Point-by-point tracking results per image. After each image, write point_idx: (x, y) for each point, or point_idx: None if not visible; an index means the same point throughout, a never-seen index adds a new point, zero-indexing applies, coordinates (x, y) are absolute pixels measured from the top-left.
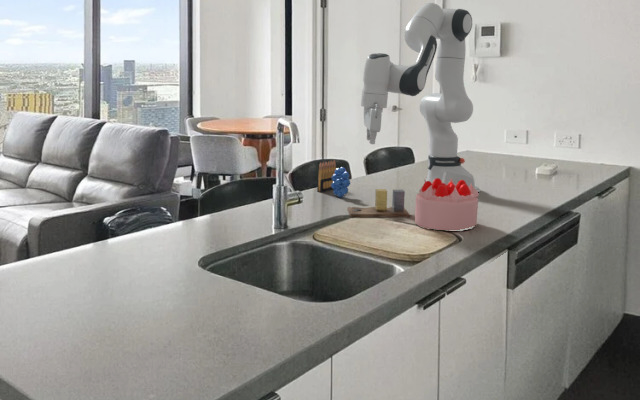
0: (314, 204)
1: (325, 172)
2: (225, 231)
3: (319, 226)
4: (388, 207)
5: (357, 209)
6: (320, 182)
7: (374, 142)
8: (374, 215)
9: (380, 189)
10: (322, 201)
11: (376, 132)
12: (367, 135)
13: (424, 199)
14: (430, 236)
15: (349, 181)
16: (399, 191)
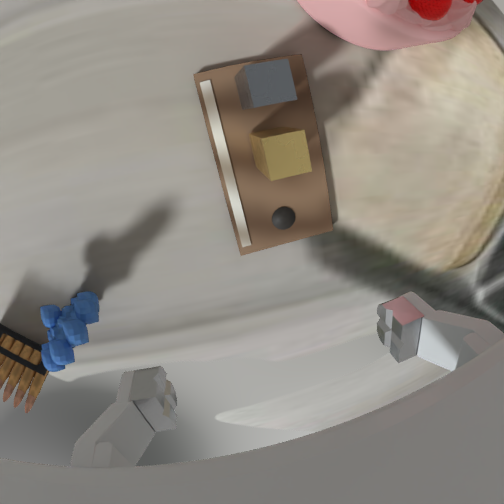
0: (197, 342)
1: (18, 379)
2: (418, 379)
3: (411, 274)
4: (220, 124)
5: (274, 220)
6: (46, 371)
7: (417, 299)
8: (321, 161)
9: (276, 159)
10: (153, 333)
11: (502, 334)
12: (175, 426)
13: (459, 31)
14: (457, 45)
15: (87, 307)
16: (290, 79)
